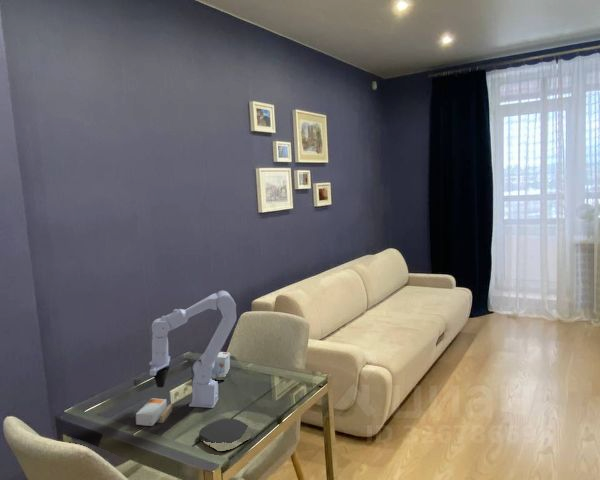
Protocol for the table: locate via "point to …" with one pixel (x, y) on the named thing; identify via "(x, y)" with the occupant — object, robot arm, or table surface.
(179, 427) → the table surface
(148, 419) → the skincare box
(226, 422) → the media streaming box
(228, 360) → the light bulb box
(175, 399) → the table surface
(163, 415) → the cradle
